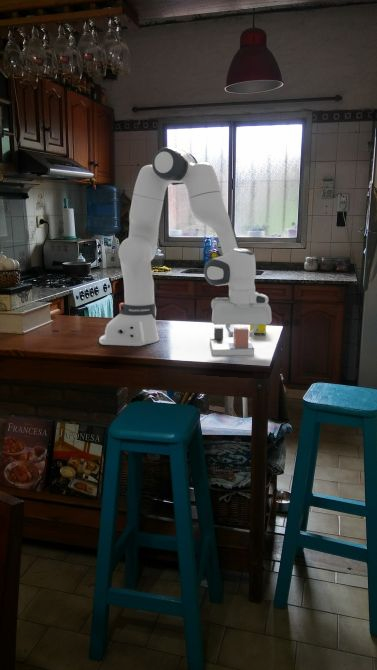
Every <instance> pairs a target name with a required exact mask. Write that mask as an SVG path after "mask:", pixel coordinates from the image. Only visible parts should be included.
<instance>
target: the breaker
mask: <svg viewBox="0 0 377 670" xmlns="http://www.w3.org/2000/svg"><path fill="white" fill-rule="evenodd" d="M213 331H214V336H213V338H214V339H215V340H223V338H224V328H223V327H219V326H218V327H214V328H213Z"/></svg>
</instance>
